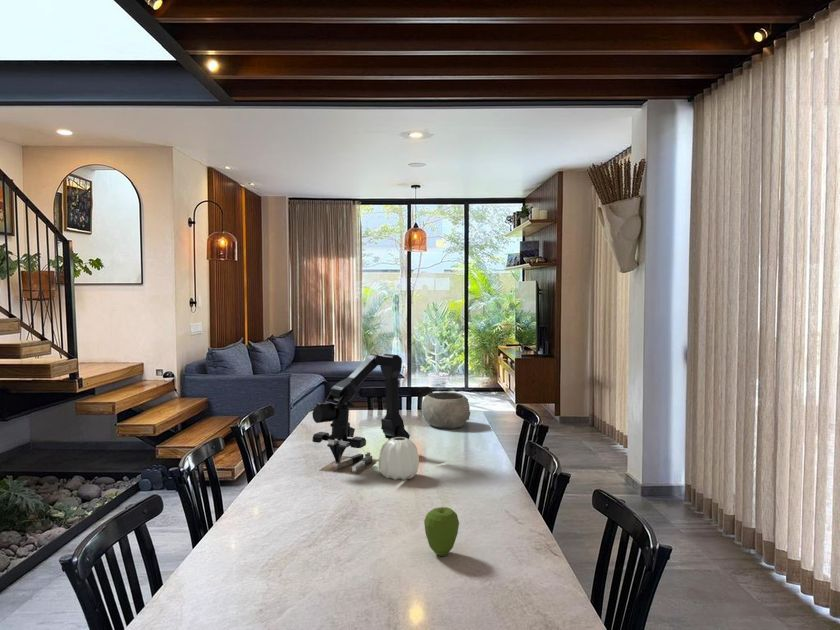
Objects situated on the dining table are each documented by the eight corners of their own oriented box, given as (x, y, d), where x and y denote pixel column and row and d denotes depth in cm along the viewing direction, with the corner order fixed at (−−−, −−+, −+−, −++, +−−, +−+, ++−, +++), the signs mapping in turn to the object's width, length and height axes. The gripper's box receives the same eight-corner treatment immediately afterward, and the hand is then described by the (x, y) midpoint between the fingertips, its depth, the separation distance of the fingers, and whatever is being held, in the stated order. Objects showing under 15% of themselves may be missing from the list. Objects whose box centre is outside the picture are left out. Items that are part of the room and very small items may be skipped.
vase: (414, 484, 197) (414, 444, 196) (373, 481, 200) (374, 441, 199) (422, 472, 210) (423, 435, 210) (384, 469, 213) (384, 432, 213)
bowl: (415, 428, 279) (415, 396, 279) (428, 419, 301) (429, 389, 300) (463, 432, 272) (464, 400, 272) (473, 422, 294) (474, 392, 294)
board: (379, 461, 223) (379, 459, 223) (358, 477, 204) (358, 474, 204) (342, 457, 228) (342, 455, 228) (318, 472, 208) (318, 470, 208)
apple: (438, 543, 150) (439, 498, 150) (465, 553, 145) (466, 506, 145) (416, 554, 144) (417, 507, 143) (444, 565, 138) (445, 516, 138)
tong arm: (363, 460, 221) (363, 454, 221) (337, 469, 209) (337, 463, 209) (359, 459, 222) (359, 453, 222) (333, 468, 210) (333, 462, 210)
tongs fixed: (376, 458, 224) (376, 452, 224) (356, 472, 206) (356, 465, 206) (367, 458, 225) (367, 451, 225) (347, 471, 207) (347, 464, 207)
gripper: (373, 419, 217) (370, 462, 218) (327, 414, 223) (324, 455, 223) (360, 424, 207) (358, 469, 207) (312, 418, 213) (310, 462, 213)
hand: (337, 463), depth 213 cm, fingers closed
